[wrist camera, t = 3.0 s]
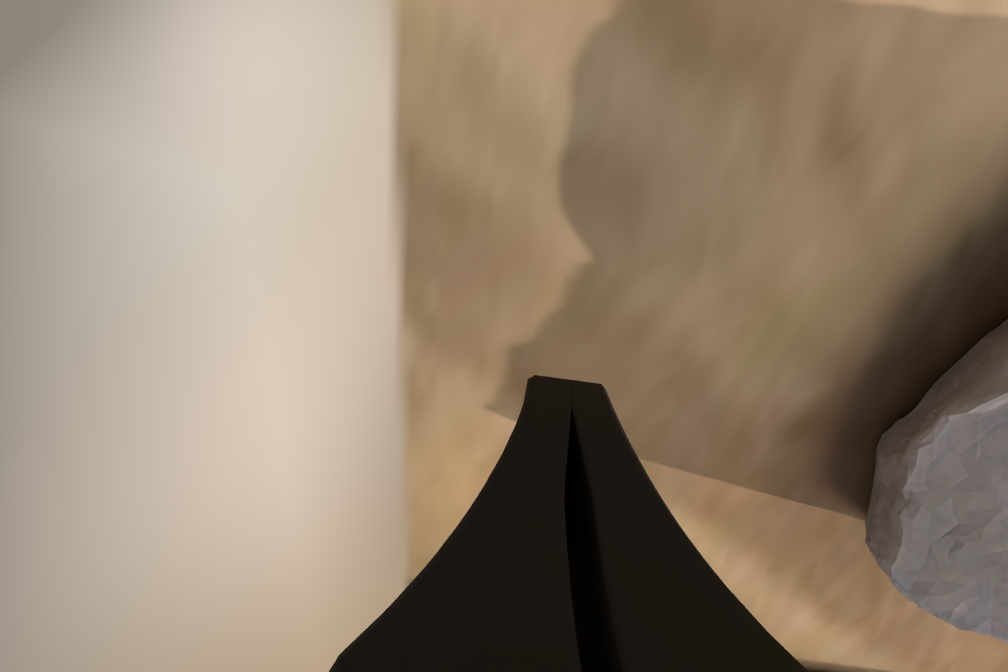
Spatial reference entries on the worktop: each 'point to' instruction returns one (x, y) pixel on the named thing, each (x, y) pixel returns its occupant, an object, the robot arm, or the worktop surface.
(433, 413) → the worktop surface
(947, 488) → the grey rock
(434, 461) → the worktop surface
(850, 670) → the worktop surface
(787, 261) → the worktop surface
